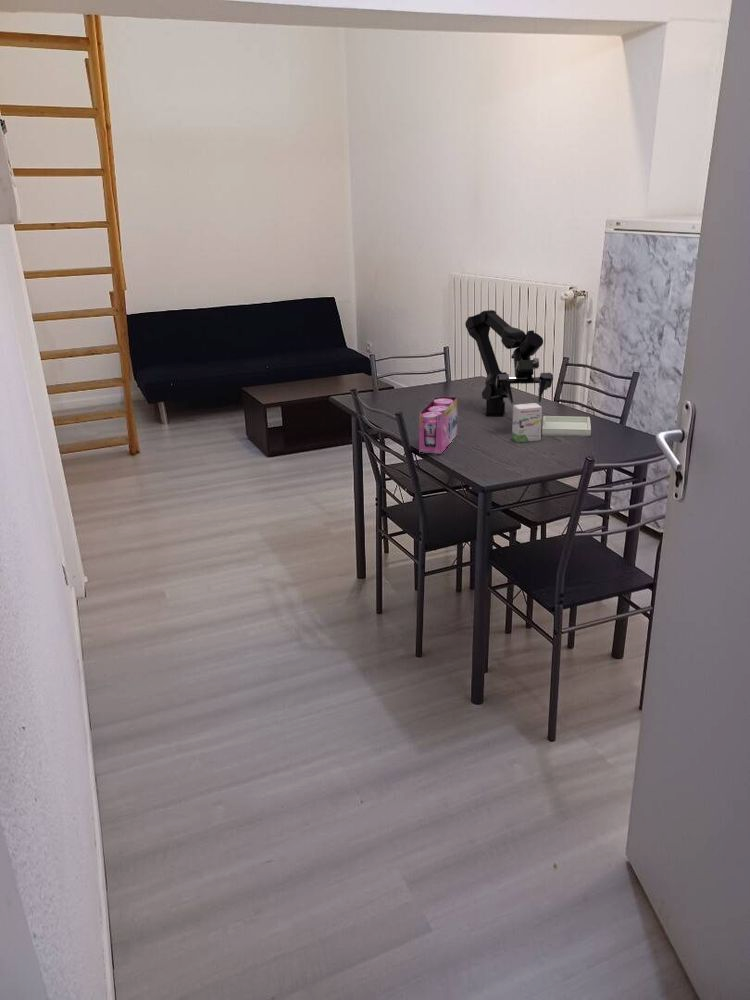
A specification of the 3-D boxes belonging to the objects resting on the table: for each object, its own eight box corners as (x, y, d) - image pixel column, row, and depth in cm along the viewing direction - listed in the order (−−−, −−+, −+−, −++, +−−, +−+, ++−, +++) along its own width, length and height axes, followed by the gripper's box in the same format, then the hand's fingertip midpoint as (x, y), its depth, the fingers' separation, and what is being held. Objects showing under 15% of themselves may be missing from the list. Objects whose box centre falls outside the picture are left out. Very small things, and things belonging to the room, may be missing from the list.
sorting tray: (541, 435, 258) (542, 428, 257) (543, 422, 272) (543, 415, 271) (590, 436, 254) (591, 429, 253) (589, 423, 269) (589, 416, 268)
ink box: (517, 443, 251) (518, 408, 247) (511, 438, 256) (512, 404, 252) (541, 440, 253) (542, 406, 249) (535, 436, 257) (536, 402, 253)
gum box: (441, 456, 242) (441, 415, 237) (417, 455, 244) (416, 414, 239) (458, 435, 263) (458, 396, 258) (435, 433, 265) (435, 395, 260)
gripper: (497, 350, 254) (500, 390, 248) (553, 348, 253) (557, 388, 247) (494, 369, 265) (497, 407, 258) (548, 367, 263) (552, 406, 257)
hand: (525, 402), depth 255 cm, fingers open, 9 cm apart
